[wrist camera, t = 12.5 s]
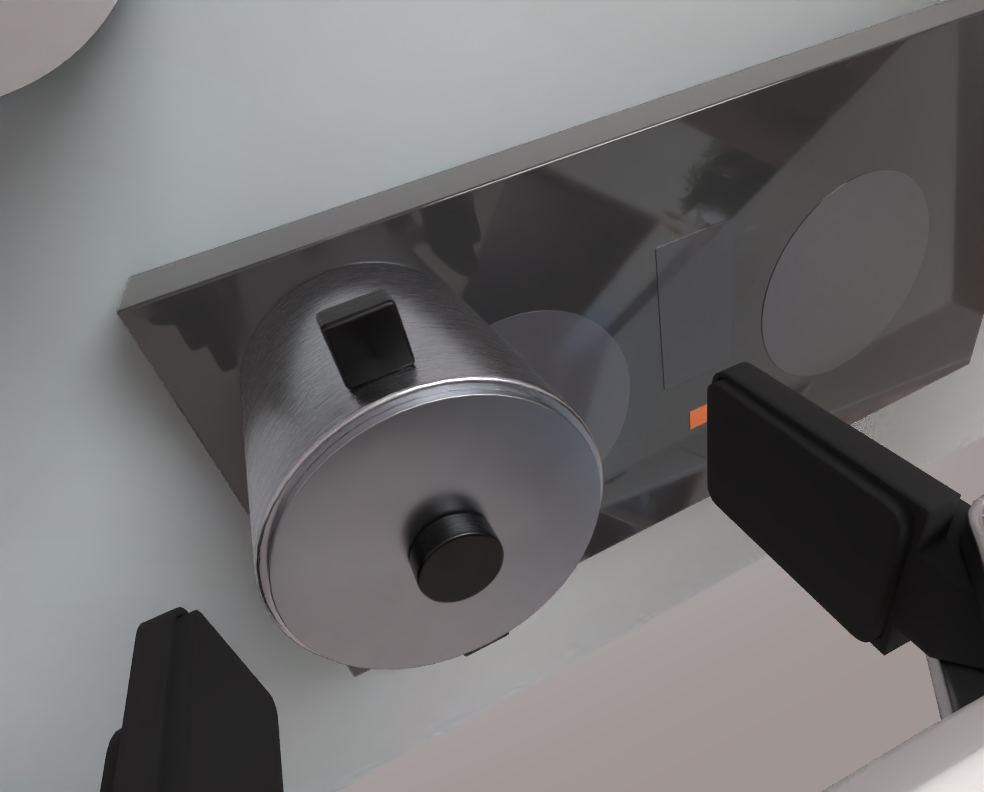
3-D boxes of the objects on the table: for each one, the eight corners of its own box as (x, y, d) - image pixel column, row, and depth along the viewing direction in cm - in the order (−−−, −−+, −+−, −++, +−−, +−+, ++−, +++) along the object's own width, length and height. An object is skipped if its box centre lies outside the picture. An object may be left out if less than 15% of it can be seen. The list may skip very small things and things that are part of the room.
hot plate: (1000, -18, 21) (1084, -25, 19) (918, 343, 29) (970, 364, 27) (126, 277, 15) (114, 312, 13) (341, 624, 23) (354, 679, 21)
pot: (442, 179, 14) (598, 266, 8) (514, 455, 19) (644, 629, 13) (161, 274, 13) (118, 455, 7) (318, 544, 18) (368, 780, 12)
